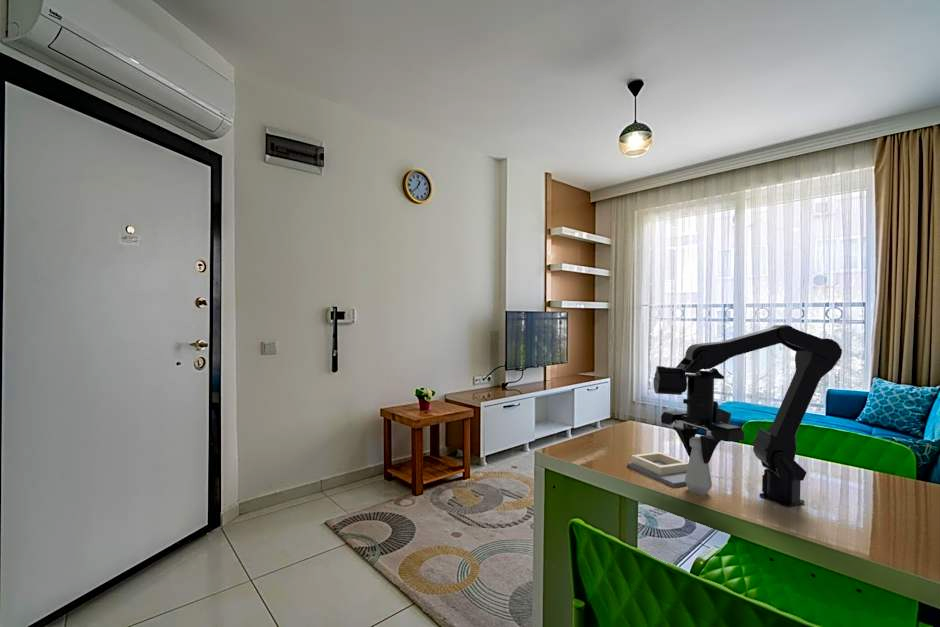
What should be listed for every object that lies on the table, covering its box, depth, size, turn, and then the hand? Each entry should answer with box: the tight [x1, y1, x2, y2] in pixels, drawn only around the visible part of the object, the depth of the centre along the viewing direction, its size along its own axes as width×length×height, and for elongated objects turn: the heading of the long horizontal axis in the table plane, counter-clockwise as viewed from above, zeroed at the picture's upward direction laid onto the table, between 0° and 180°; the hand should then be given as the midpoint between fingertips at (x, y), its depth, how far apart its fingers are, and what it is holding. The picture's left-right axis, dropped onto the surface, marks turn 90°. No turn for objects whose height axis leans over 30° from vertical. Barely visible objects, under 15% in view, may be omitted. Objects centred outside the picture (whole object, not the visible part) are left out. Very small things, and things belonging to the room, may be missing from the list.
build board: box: [626, 451, 689, 488], centre depth 116 cm, size 16×13×3 cm
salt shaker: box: [685, 436, 713, 496], centre depth 104 cm, size 6×6×13 cm
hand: (698, 460), depth 104 cm, fingers closed on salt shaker, 4 cm apart
